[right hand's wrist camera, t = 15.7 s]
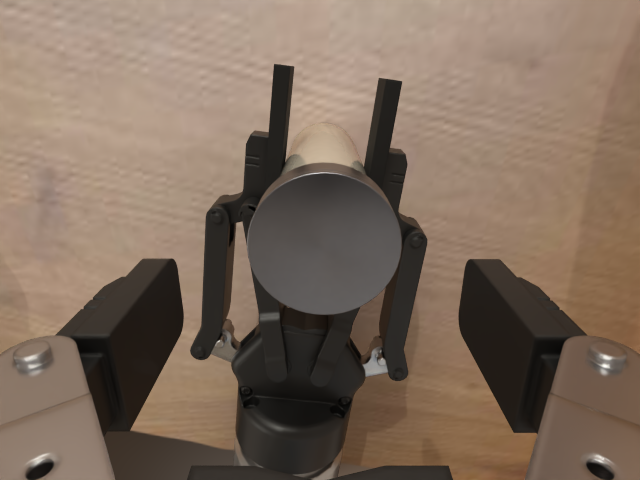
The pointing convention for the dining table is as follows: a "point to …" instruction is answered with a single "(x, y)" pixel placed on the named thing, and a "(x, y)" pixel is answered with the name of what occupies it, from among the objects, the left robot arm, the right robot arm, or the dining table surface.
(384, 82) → the left robot arm
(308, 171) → the lid
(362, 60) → the dining table surface
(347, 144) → the cream capped cylinder
